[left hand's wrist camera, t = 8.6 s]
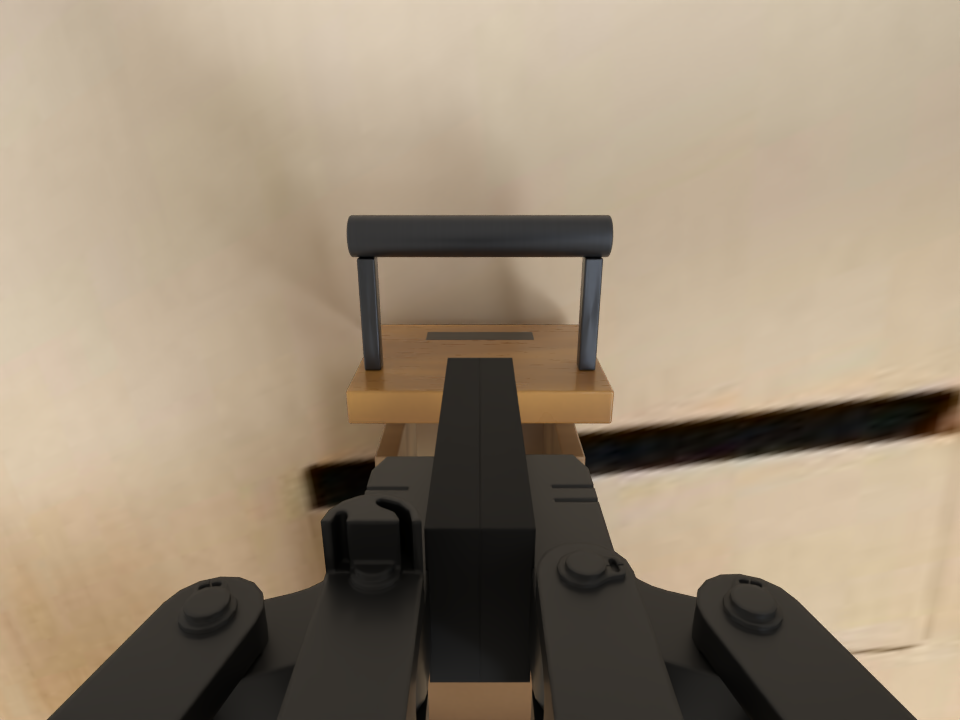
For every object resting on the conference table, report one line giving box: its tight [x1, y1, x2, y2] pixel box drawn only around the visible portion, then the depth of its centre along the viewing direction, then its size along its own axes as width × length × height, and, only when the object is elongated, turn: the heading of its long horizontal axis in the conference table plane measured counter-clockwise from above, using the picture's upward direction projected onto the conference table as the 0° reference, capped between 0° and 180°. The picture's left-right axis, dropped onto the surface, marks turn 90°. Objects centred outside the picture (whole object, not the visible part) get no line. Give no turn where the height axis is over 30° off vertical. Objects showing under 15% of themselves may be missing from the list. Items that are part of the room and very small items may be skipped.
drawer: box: [346, 215, 614, 467], centre depth 27 cm, size 26×9×7 cm, turn 0°
